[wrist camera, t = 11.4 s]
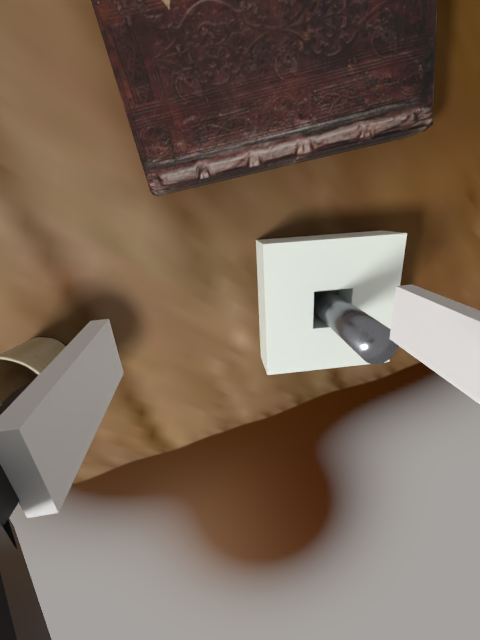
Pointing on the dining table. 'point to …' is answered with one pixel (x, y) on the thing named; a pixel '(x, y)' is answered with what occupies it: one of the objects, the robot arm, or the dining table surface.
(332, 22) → the hardback book
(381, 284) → the bore block
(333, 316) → the pin
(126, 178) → the dining table surface
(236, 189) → the dining table surface
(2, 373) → the flower pot
